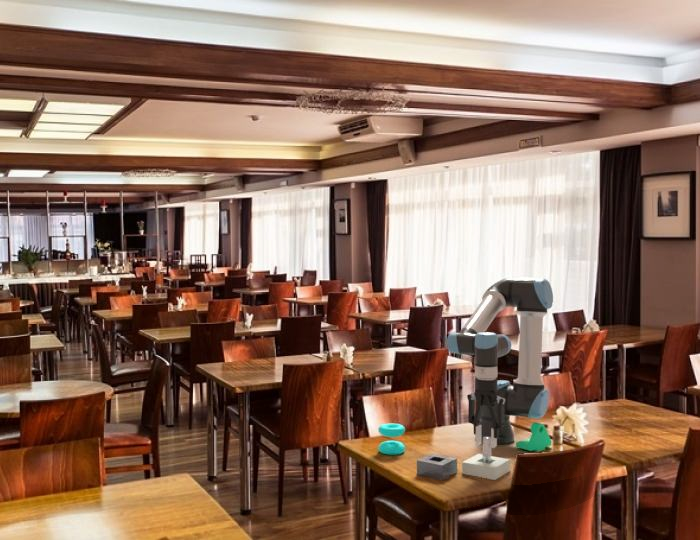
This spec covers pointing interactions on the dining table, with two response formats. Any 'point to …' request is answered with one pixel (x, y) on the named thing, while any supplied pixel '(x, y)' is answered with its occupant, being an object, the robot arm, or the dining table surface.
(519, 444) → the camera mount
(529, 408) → the robot arm
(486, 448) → the steel pin
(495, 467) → the socket plate
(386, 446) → the donuts
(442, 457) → the mount block
